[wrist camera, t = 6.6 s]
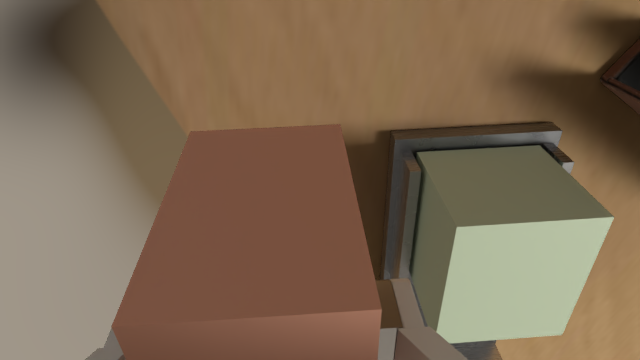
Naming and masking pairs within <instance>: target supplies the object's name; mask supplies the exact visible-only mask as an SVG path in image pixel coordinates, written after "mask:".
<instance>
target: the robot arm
mask: <svg viewBox="0 0 640 360" xmlns="http://www.w3.org/2000/svg"><path fill="white" fill-rule="evenodd" d="M375 281H376V286H377V290H378V295H379V299H380V304H381V308H382V313H381V325H380V337H379V348H378V360H468V359H467V358H466V357H464V356H463V355H462V354H461V353H460V352H459V351H458V350H456V349H455V348H454V347H453V346H452V345H451V344H450V343H448V342H447V341H446V340H445V339H444V338H443V337H442V336H440V335H439V334H438V333H437V332H436V331H435V330H433V329H432V328H431V327H425V326H424V323H423V320H422V317H421V314H420V311H419V307H418V304H417V301H416V298H415V295H414V292H413V289H412V285H411V282H410V280H409V279H408V278H402V279H390V280H389V279H385V280H375ZM85 360H126V358H125V356H124V354H123V351H122V349H121V347H120V345H119V343H118V340H117V338H116V336H115V334H114V332H113V329H112V328H111V331H110V333H109V336H108V338H107V341H106V343H105V346H104V348H99V349H97V350H96V351H95V352H93V353H92V354H91V355H90V356H89V357H88V358H86V359H85Z"/></svg>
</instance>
